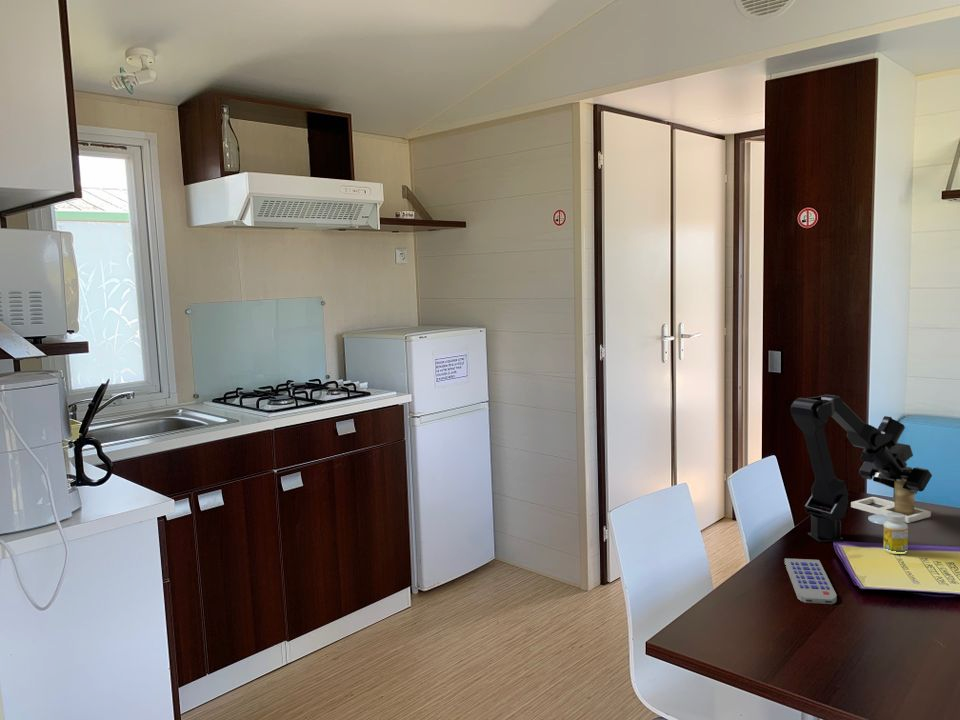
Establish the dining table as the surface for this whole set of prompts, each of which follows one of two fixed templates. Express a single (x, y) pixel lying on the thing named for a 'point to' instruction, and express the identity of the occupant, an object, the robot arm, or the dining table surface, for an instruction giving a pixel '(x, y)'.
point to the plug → (903, 498)
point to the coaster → (878, 519)
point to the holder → (888, 508)
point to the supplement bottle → (895, 532)
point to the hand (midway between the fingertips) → (907, 490)
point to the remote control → (810, 581)
